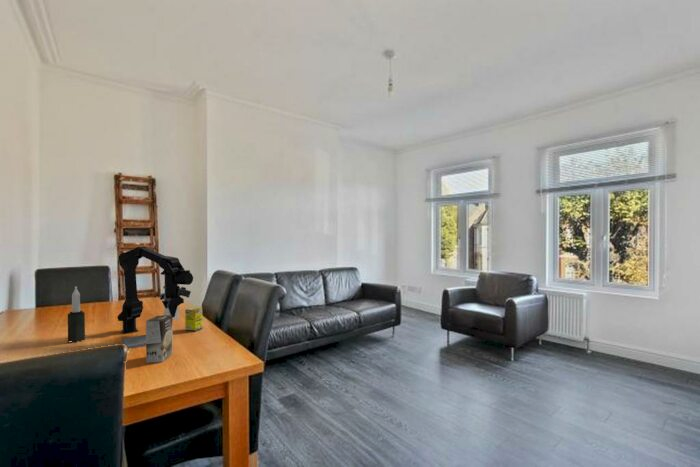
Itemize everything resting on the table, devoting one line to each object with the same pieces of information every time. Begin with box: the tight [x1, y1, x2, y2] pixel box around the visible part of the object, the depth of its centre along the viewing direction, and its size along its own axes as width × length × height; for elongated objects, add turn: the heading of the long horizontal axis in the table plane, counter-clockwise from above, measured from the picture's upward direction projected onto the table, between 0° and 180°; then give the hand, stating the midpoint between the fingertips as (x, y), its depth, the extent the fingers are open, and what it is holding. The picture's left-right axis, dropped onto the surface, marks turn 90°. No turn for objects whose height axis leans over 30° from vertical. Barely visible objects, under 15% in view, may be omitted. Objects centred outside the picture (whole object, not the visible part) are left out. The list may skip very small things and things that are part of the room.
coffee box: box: [145, 314, 174, 364], centre depth 139 cm, size 9×6×16 cm
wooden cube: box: [164, 307, 180, 321], centre depth 169 cm, size 5×5×5 cm
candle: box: [67, 286, 86, 343], centre depth 161 cm, size 5×5×25 cm
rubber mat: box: [120, 334, 146, 350], centre depth 159 cm, size 14×14×1 cm
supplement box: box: [184, 306, 203, 333], centre depth 178 cm, size 6×6×11 cm
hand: (171, 316), depth 169 cm, fingers closed on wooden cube, 5 cm apart
